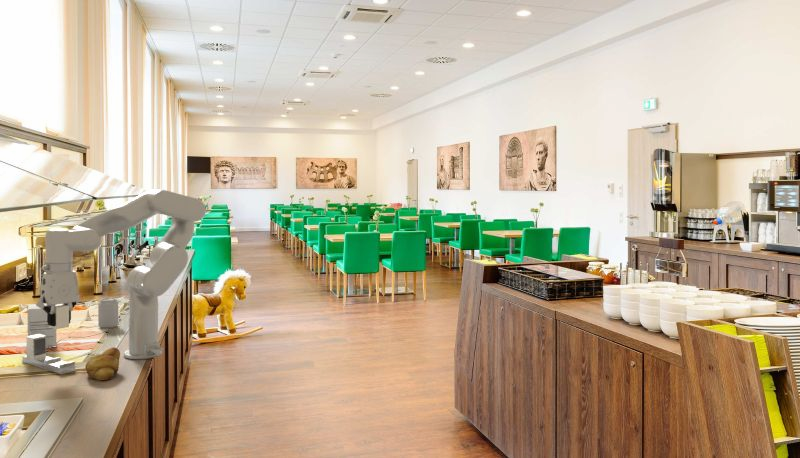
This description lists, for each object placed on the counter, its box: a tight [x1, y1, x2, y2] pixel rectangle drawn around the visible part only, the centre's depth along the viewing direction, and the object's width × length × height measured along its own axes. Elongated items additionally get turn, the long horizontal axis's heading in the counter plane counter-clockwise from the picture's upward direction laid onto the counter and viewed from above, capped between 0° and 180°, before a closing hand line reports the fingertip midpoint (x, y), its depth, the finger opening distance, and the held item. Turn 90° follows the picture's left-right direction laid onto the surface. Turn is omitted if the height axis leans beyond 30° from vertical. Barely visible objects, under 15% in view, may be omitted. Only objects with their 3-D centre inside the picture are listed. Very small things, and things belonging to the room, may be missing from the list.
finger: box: [49, 304, 70, 330], centre depth 187 cm, size 5×4×7 cm
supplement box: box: [27, 303, 57, 349], centre depth 214 cm, size 9×9×15 cm
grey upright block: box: [97, 297, 119, 330], centre depth 244 cm, size 8×8×12 cm
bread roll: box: [85, 346, 121, 381], centre depth 184 cm, size 13×10×8 cm
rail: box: [22, 334, 76, 375], centre depth 191 cm, size 22×4×9 cm, turn 61°
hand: (59, 323), depth 187 cm, fingers closed on finger, 4 cm apart
